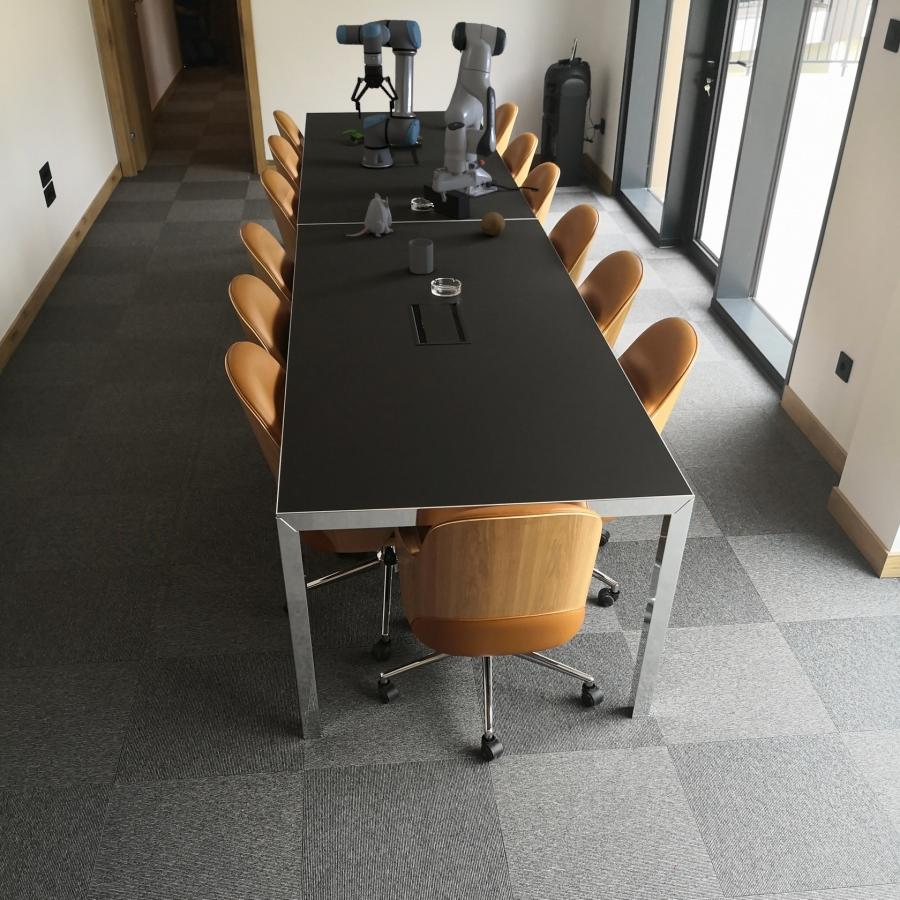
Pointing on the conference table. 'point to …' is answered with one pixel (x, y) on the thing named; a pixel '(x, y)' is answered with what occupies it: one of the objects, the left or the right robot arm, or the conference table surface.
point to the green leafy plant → (354, 137)
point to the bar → (449, 202)
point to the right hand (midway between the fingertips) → (454, 199)
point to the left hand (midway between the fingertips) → (375, 117)
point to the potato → (492, 223)
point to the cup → (421, 256)
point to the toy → (377, 217)
